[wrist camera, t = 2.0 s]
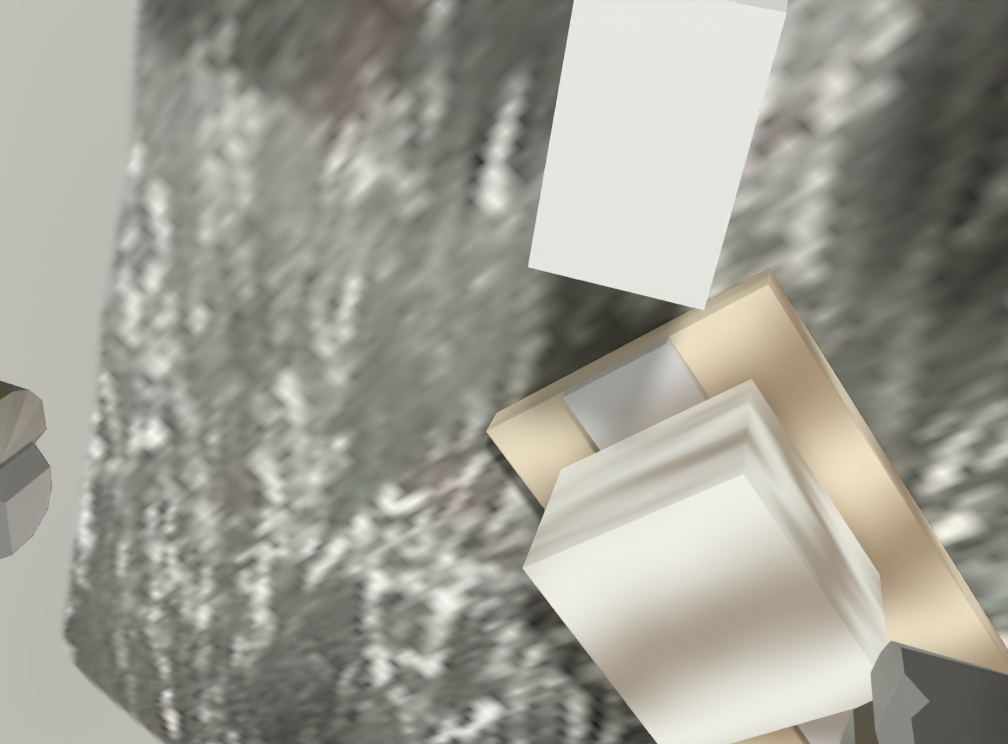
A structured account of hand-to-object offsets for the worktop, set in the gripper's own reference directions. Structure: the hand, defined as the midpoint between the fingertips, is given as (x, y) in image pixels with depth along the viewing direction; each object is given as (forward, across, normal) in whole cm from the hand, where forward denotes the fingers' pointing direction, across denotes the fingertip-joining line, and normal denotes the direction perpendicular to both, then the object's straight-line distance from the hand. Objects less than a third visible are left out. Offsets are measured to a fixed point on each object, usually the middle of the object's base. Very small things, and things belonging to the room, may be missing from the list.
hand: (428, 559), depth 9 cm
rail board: (+25, -12, +22) cm, 36 cm away
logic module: (+26, 0, 0) cm, 26 cm away
